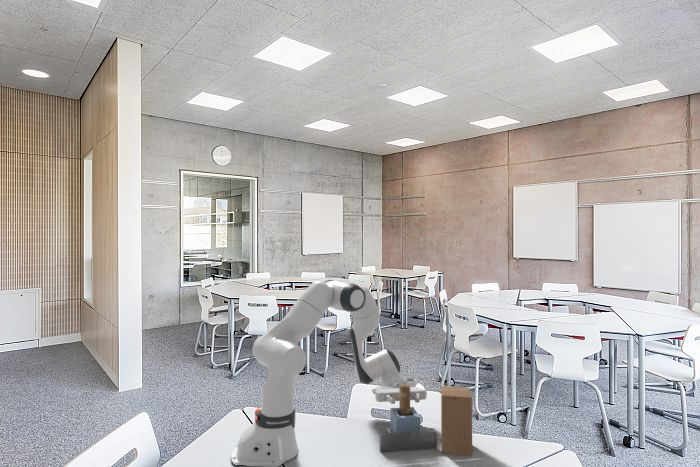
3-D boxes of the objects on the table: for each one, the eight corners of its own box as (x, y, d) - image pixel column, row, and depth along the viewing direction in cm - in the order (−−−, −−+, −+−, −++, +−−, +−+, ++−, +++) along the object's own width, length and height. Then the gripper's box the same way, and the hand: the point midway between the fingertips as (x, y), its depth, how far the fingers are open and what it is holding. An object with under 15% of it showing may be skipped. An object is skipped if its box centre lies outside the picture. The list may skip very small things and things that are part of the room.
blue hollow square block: (396, 440, 147) (396, 418, 148) (390, 429, 156) (390, 408, 156) (420, 438, 149) (420, 416, 149) (413, 427, 158) (413, 407, 158)
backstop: (380, 453, 139) (380, 435, 139) (371, 432, 154) (371, 416, 154) (436, 449, 142) (436, 431, 142) (422, 429, 157) (422, 413, 157)
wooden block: (472, 457, 136) (472, 397, 137) (441, 454, 138) (441, 395, 139) (469, 443, 146) (469, 387, 147) (441, 440, 148) (441, 385, 149)
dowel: (401, 431, 150) (400, 388, 150) (398, 426, 154) (398, 384, 154) (411, 430, 151) (411, 387, 151) (408, 425, 155) (408, 383, 155)
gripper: (371, 381, 164) (378, 394, 151) (419, 379, 167) (431, 391, 153) (371, 397, 164) (378, 411, 150) (420, 394, 167) (431, 408, 153)
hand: (405, 401), depth 152 cm, fingers open, 8 cm apart
